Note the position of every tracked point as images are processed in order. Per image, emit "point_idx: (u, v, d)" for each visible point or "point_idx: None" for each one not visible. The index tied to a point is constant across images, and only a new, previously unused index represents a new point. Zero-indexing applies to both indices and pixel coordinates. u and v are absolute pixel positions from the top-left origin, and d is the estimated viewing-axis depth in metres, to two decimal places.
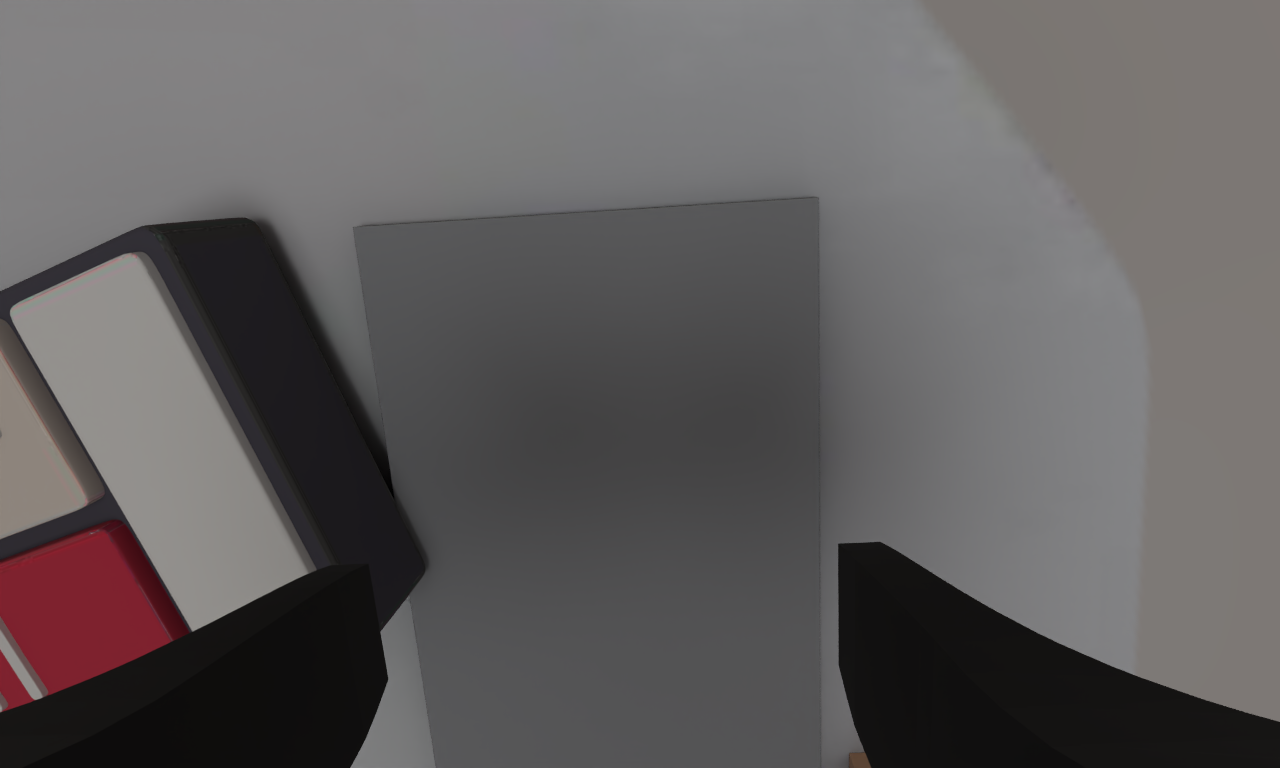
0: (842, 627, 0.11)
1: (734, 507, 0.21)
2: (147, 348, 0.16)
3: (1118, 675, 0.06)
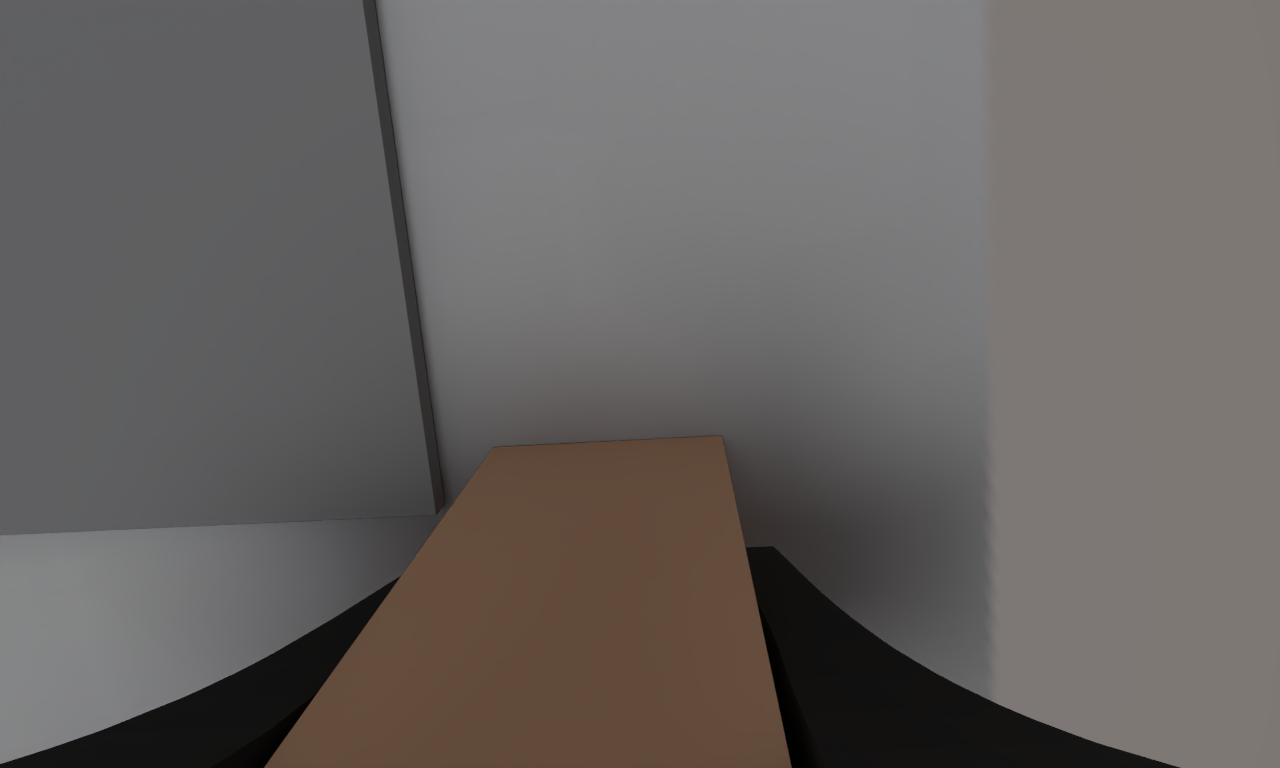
0: None
1: None
2: None
3: (934, 681, 0.06)
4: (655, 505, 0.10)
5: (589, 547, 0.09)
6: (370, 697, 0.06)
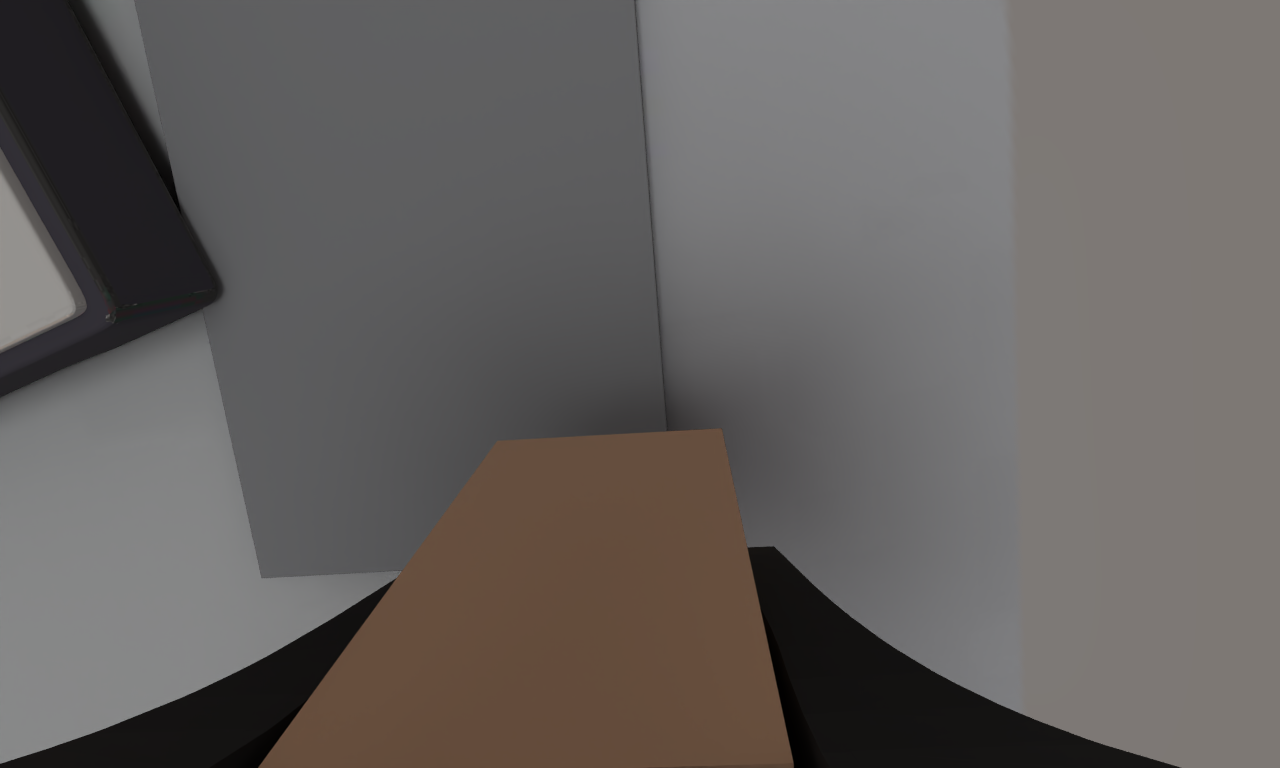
0: None
1: (555, 206, 0.19)
2: None
3: (935, 681, 0.06)
4: (656, 494, 0.10)
5: (592, 535, 0.09)
6: (380, 674, 0.07)
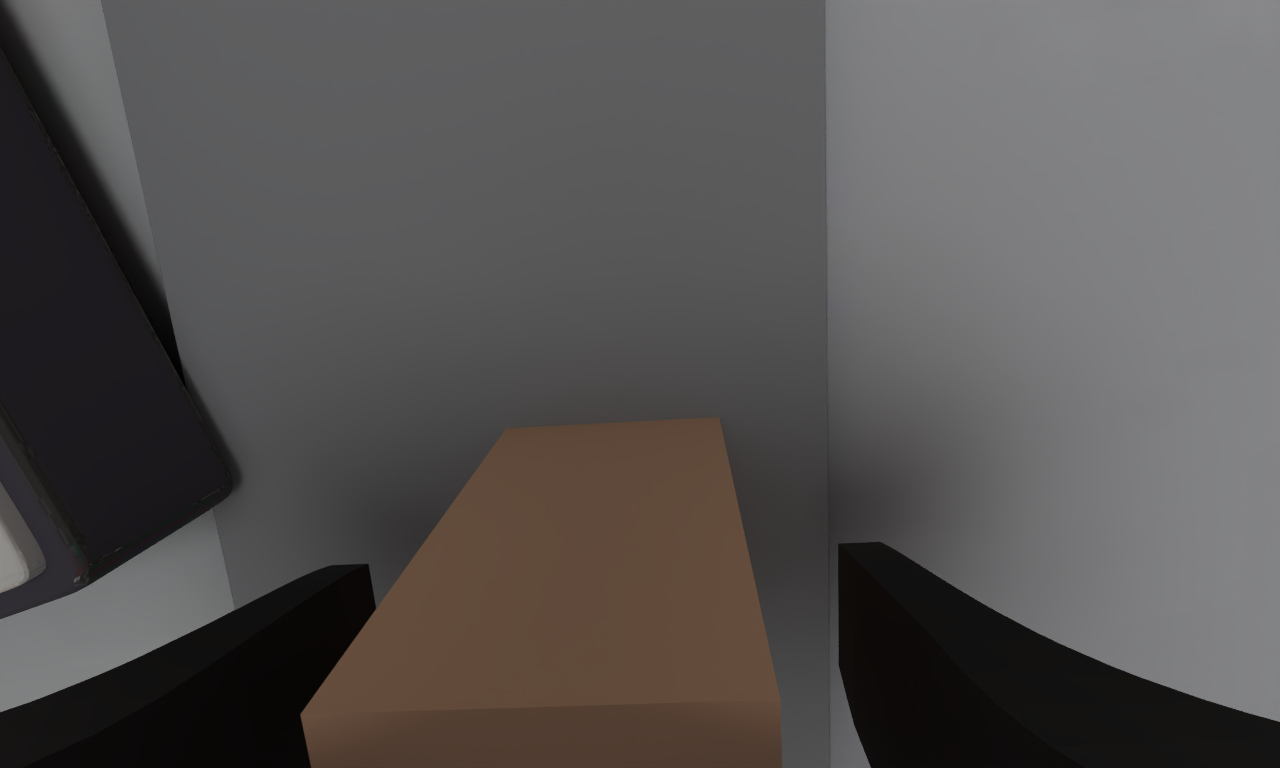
0: (842, 627, 0.11)
1: (696, 383, 0.14)
2: None
3: (1118, 675, 0.06)
4: (658, 476, 0.11)
5: (598, 511, 0.10)
6: (410, 630, 0.07)
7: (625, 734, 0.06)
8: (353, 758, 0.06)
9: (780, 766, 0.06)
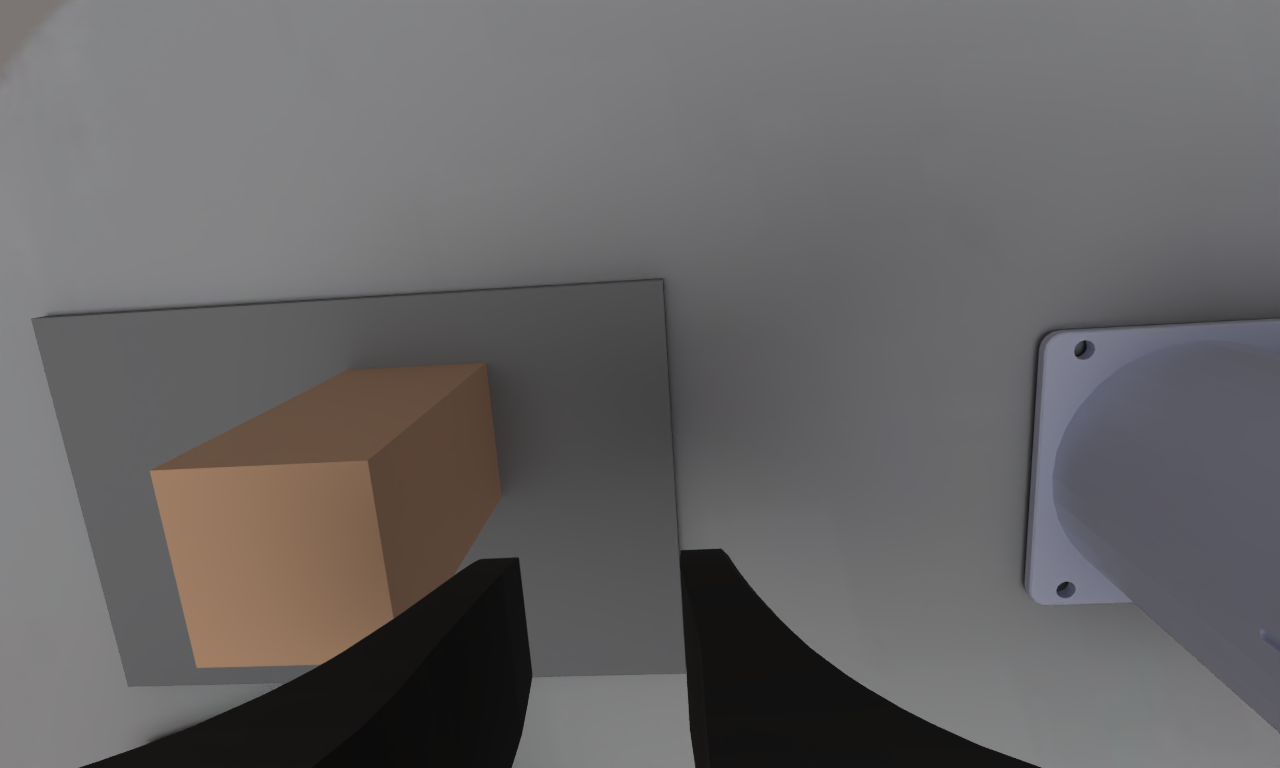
0: None
1: None
2: None
3: (844, 684, 0.06)
4: None
5: None
6: None
7: (180, 536, 0.13)
8: (214, 649, 0.14)
9: (194, 466, 0.13)
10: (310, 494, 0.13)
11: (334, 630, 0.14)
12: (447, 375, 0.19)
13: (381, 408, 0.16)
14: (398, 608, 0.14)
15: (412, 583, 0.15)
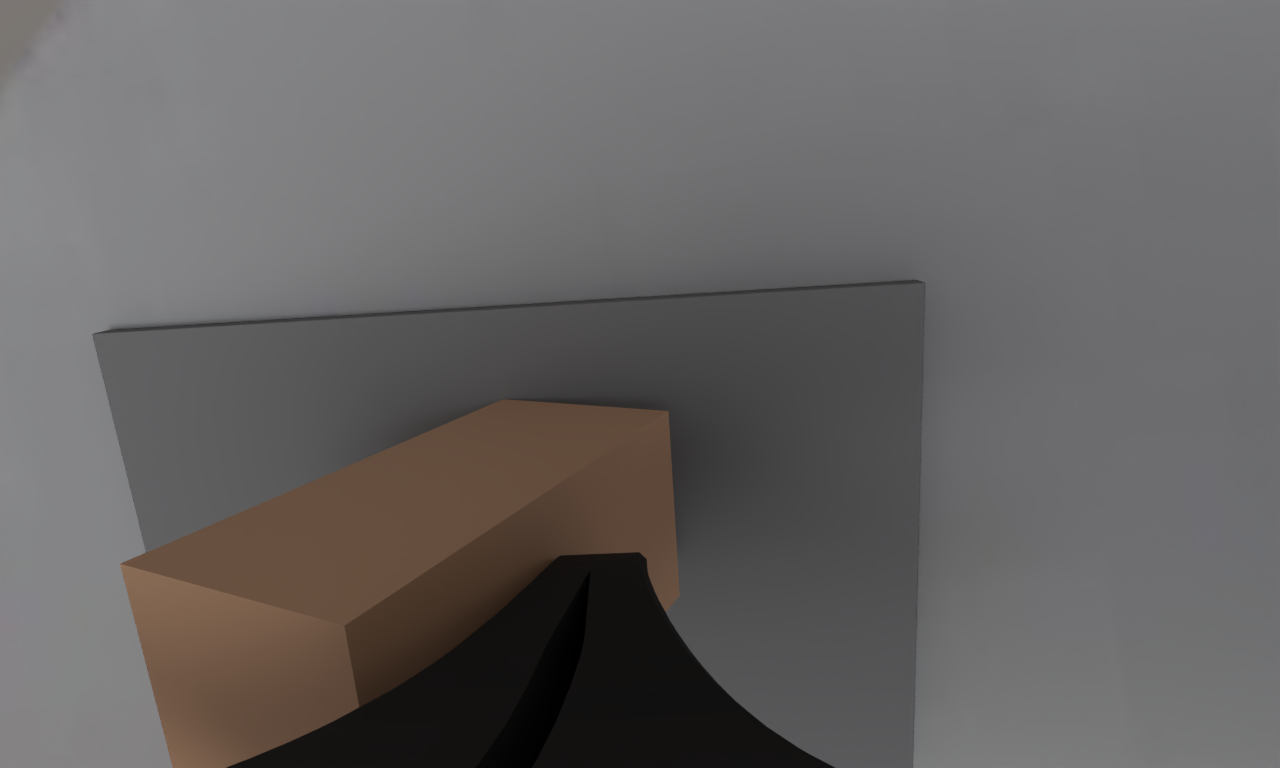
0: None
1: None
2: None
3: (705, 688, 0.07)
4: None
5: None
6: None
7: (156, 657, 0.10)
8: None
9: (164, 569, 0.09)
10: (280, 652, 0.08)
11: None
12: (604, 429, 0.14)
13: (473, 487, 0.11)
14: None
15: None
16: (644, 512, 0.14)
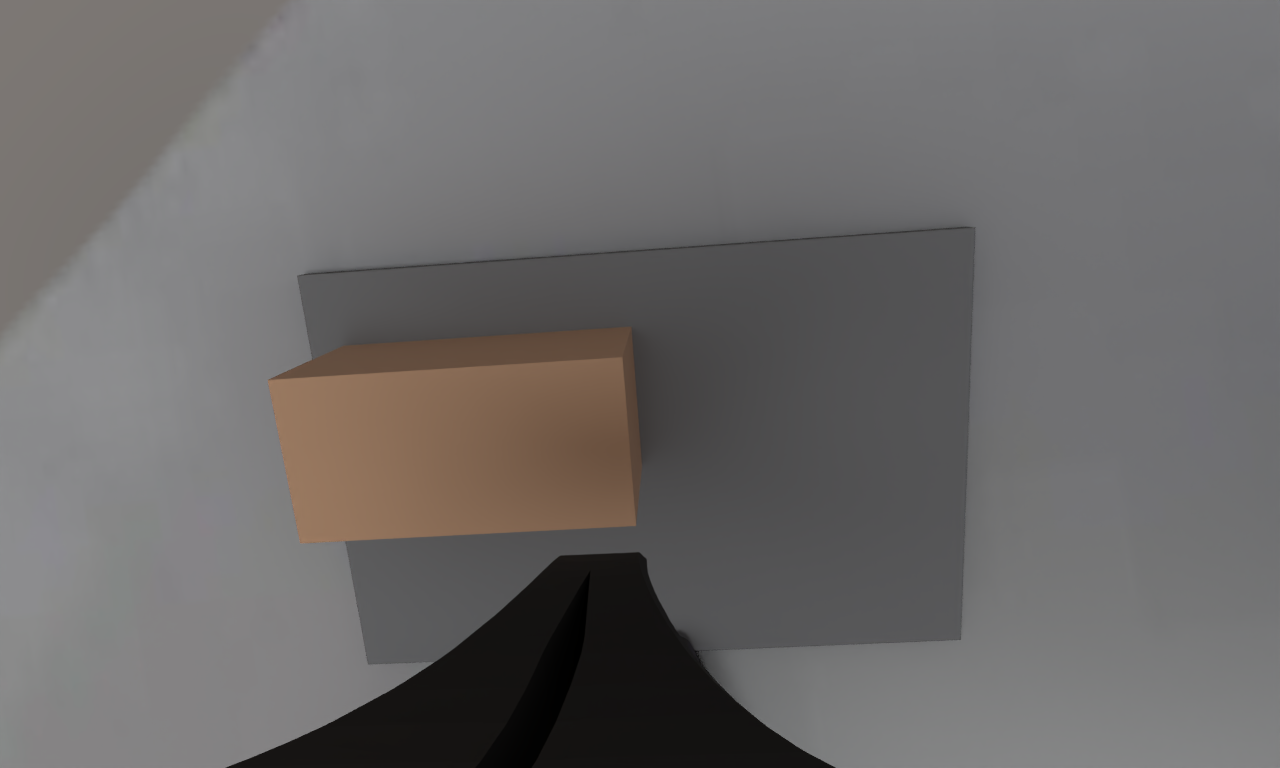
0: None
1: None
2: None
3: (705, 688, 0.07)
4: None
5: None
6: None
7: None
8: None
9: (335, 351, 0.20)
10: None
11: None
12: (564, 355, 0.17)
13: (437, 358, 0.18)
14: (304, 505, 0.17)
15: (334, 499, 0.17)
16: (571, 430, 0.17)
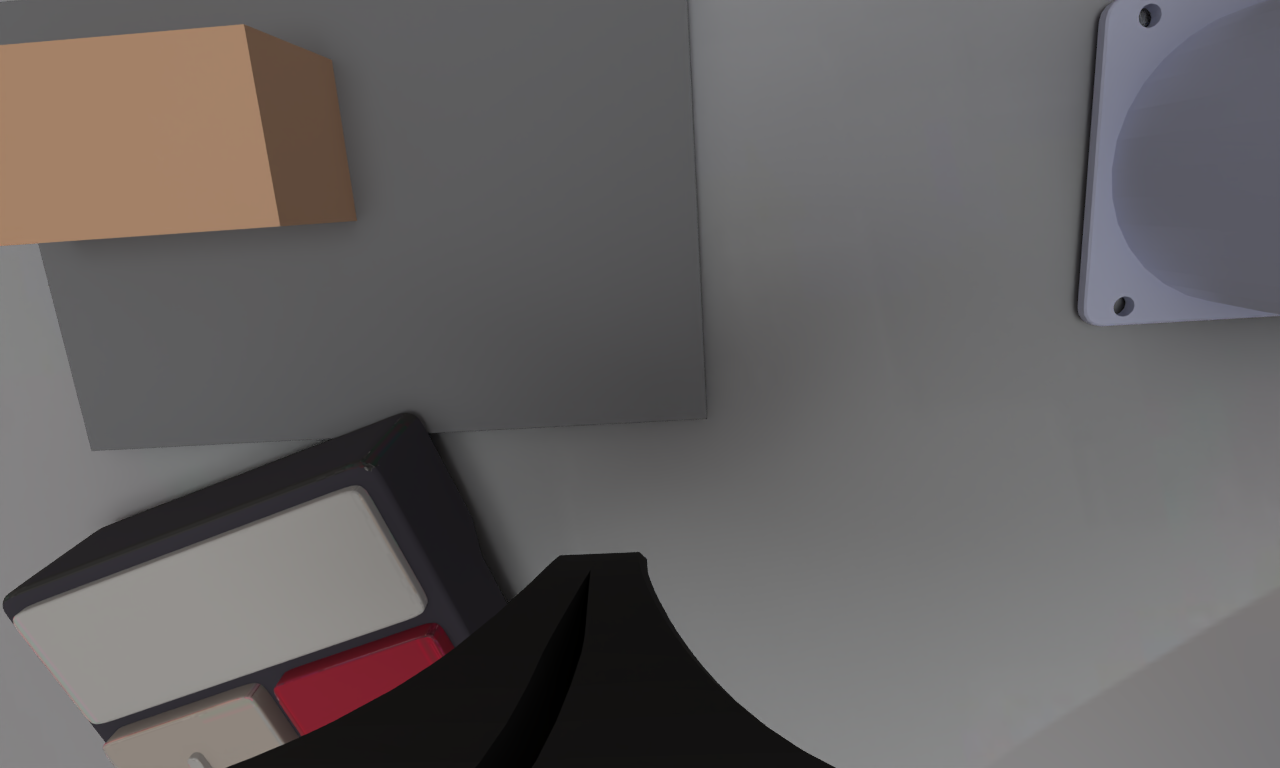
0: None
1: None
2: (94, 622, 0.19)
3: (705, 688, 0.07)
4: None
5: None
6: None
7: None
8: None
9: None
10: None
11: None
12: None
13: None
14: None
15: None
16: (199, 112, 0.15)
